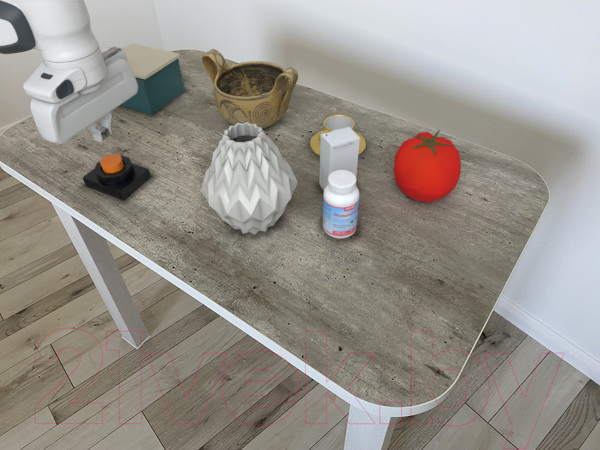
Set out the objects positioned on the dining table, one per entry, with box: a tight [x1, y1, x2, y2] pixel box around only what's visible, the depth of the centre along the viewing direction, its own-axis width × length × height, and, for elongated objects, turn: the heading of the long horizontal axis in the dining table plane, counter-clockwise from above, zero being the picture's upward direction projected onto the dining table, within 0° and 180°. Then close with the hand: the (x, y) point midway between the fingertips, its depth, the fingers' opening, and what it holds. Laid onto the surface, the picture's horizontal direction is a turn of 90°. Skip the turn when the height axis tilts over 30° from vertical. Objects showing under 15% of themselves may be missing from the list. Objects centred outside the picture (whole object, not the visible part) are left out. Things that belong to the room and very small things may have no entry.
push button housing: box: [81, 154, 152, 202], centre depth 95 cm, size 10×8×4 cm
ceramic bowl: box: [201, 48, 299, 130], centre depth 106 cm, size 22×17×15 cm
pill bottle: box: [322, 170, 360, 239], centre depth 82 cm, size 6×6×11 cm
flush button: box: [99, 153, 124, 173], centre depth 94 cm, size 4×4×2 cm
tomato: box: [393, 129, 462, 203], centre depth 88 cm, size 12×13×12 cm
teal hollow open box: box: [120, 58, 186, 115], centre depth 118 cm, size 15×13×9 cm
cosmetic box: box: [318, 127, 360, 191], centre depth 90 cm, size 6×4×12 cm
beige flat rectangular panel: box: [121, 42, 181, 79], centre depth 114 cm, size 15×13×1 cm
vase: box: [200, 122, 299, 235], centre depth 82 cm, size 16×16×18 cm
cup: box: [309, 114, 367, 157], centre depth 102 cm, size 12×12×5 cm
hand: (103, 137), depth 89 cm, fingers closed
